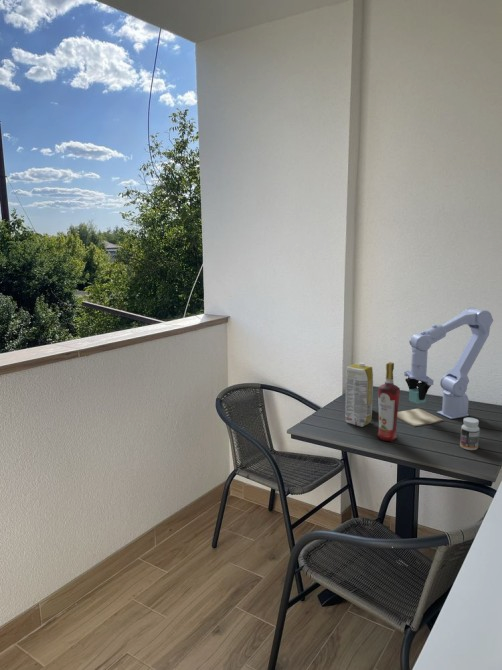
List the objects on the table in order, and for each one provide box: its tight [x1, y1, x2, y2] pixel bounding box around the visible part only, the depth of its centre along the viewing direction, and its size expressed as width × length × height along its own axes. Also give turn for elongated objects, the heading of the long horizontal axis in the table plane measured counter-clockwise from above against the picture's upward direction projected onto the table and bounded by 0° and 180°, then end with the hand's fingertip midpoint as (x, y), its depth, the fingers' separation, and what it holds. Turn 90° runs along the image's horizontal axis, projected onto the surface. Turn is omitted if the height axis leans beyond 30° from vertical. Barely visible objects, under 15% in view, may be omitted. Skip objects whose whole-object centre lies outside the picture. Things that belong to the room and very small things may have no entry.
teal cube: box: [408, 387, 427, 405], centre depth 188 cm, size 4×4×4 cm
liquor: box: [376, 361, 401, 442], centre depth 168 cm, size 7×7×28 cm
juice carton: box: [344, 362, 374, 428], centre depth 184 cm, size 9×8×24 cm
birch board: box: [397, 408, 444, 427], centre depth 190 cm, size 14×14×1 cm
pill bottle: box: [459, 416, 481, 451], centre depth 161 cm, size 6×6×10 cm
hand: (417, 397), depth 188 cm, fingers closed on teal cube, 4 cm apart
